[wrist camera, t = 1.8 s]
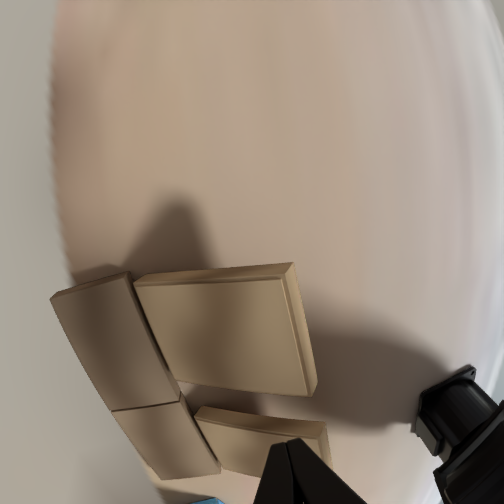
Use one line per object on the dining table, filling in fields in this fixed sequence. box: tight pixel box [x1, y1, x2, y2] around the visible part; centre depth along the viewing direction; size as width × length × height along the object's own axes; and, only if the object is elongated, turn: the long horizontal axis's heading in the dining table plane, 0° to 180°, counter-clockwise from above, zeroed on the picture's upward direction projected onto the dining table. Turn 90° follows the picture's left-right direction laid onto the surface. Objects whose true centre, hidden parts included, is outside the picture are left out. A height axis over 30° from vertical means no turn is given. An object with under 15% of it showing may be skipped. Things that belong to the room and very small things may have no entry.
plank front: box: [133, 262, 318, 397], centre depth 17 cm, size 9×7×1 cm
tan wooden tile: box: [50, 271, 221, 480], centre depth 20 cm, size 6×18×1 cm, turn 14°
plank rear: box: [194, 406, 333, 478], centre depth 20 cm, size 9×7×1 cm
